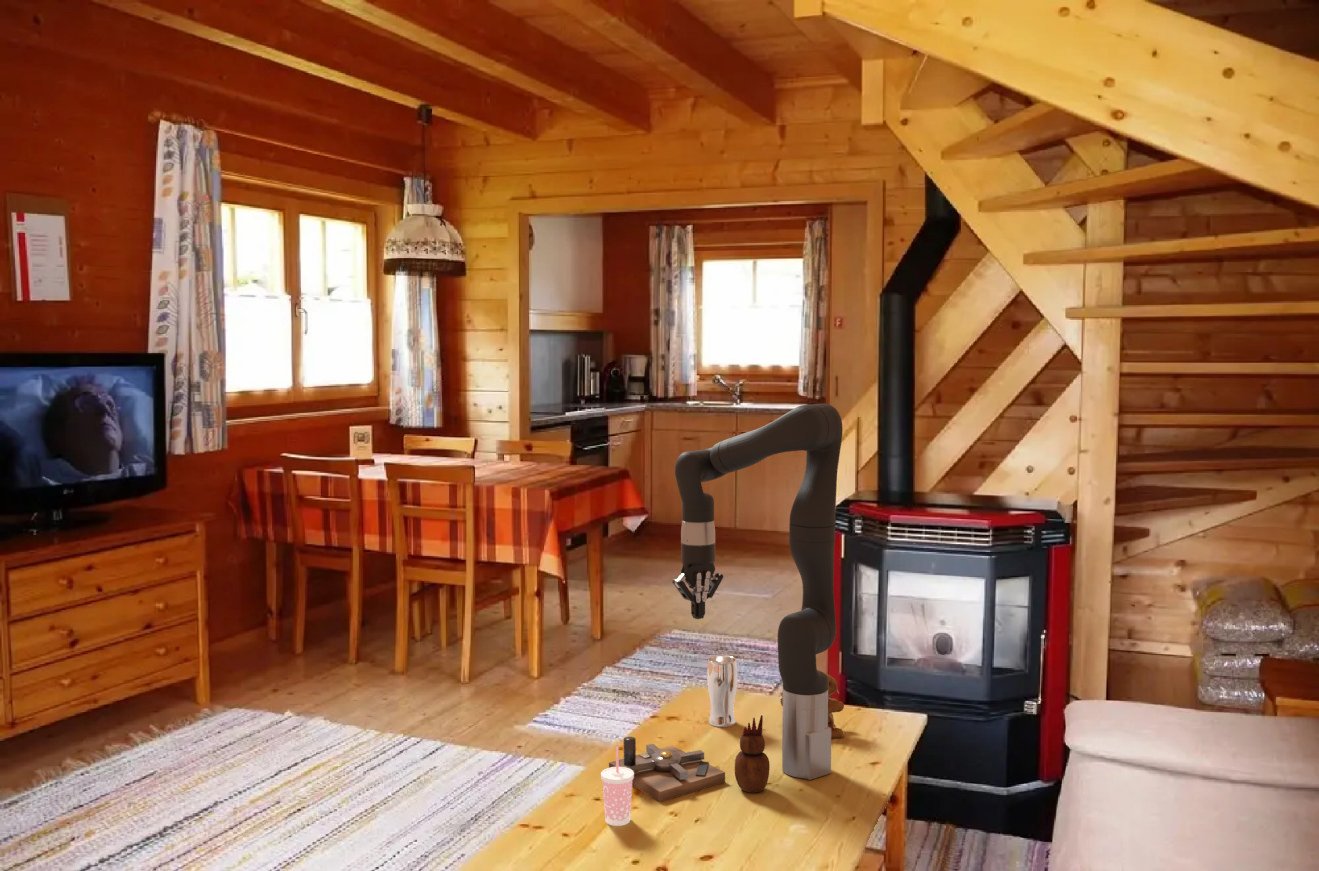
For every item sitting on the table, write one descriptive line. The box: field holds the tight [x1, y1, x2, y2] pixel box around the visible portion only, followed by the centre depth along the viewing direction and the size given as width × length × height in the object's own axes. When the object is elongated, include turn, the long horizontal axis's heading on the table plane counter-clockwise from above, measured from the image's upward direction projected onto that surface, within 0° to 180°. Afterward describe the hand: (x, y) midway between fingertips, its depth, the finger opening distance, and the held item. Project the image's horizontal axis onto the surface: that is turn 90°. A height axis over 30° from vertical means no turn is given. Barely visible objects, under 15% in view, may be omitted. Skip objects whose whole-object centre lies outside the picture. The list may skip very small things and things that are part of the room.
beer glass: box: [706, 654, 738, 728], centre depth 251 cm, size 7×7×15 cm
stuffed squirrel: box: [779, 673, 845, 739], centre depth 246 cm, size 10×14×13 cm
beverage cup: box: [600, 745, 634, 827], centre depth 200 cm, size 6×6×14 cm
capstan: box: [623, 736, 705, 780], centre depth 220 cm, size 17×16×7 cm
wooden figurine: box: [734, 715, 771, 794], centre depth 213 cm, size 7×6×15 cm
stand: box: [608, 745, 726, 803], centre depth 220 cm, size 18×16×2 cm
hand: (698, 618), depth 240 cm, fingers closed
